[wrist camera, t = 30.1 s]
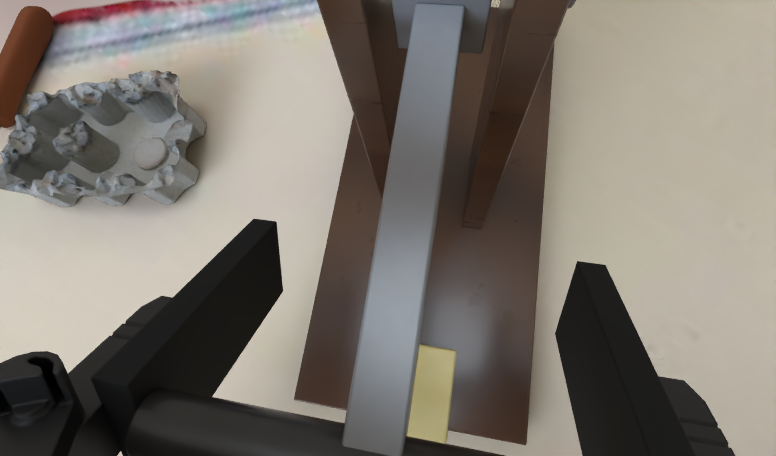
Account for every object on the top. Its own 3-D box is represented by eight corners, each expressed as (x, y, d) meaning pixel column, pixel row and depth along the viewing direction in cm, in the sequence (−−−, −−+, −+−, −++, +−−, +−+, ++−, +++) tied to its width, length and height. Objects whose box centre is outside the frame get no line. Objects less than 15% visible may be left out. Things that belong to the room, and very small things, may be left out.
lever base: (519, 439, 20) (837, 745, 4) (302, 397, 22) (-46, 511, 6) (550, 28, 27) (724, -454, 11) (379, 18, 28) (312, -417, 12)
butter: (441, 441, 19) (443, 465, 15) (364, 425, 20) (345, 445, 16) (451, 351, 20) (456, 350, 16) (378, 338, 21) (364, 334, 17)
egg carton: (216, 107, 28) (181, 66, 24) (194, 215, 26) (152, 190, 22) (67, 105, 29) (11, 66, 25) (34, 209, 27) (-33, 185, 23)
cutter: (603, 535, 8) (671, 617, 6) (175, 442, 9) (91, 478, 7) (627, -31, 11) (679, -129, 9) (295, -44, 12) (263, -132, 10)
